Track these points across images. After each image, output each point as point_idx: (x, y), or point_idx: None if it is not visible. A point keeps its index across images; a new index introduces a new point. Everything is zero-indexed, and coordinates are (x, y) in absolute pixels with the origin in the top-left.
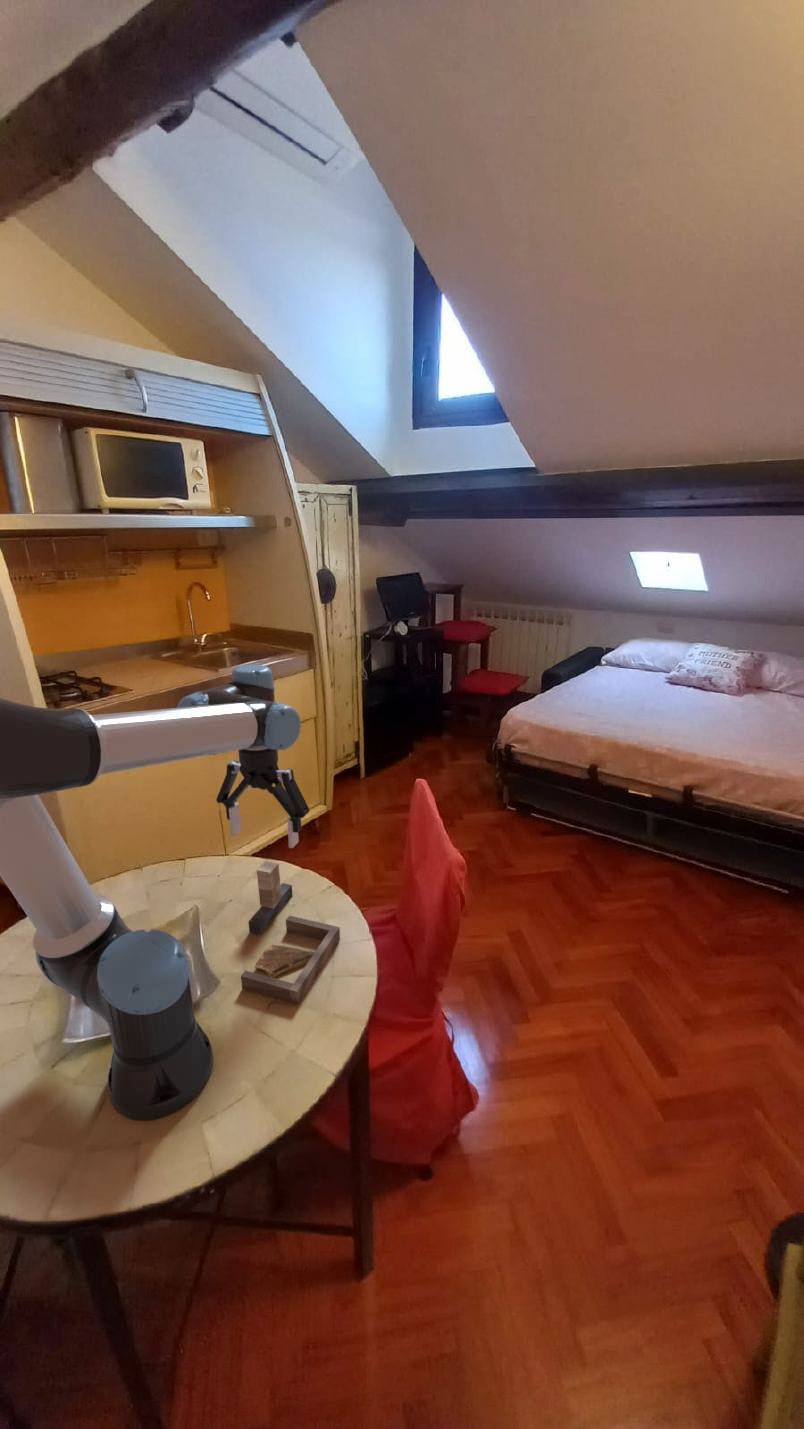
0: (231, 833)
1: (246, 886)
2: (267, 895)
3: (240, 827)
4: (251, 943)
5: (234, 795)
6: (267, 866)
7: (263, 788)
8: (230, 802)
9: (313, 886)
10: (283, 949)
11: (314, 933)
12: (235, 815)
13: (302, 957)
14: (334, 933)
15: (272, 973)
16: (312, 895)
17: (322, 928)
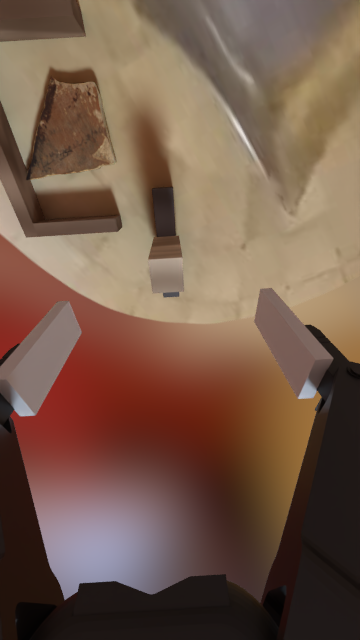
0: (273, 292)
1: (237, 282)
2: (162, 242)
3: (259, 325)
4: (153, 162)
5: (345, 441)
6: (167, 276)
7: (91, 602)
8: (342, 388)
9: (150, 314)
10: (83, 159)
11: (67, 219)
12: (287, 345)
13: (40, 153)
14: (19, 219)
15: (53, 81)
16: (139, 299)
17: (46, 223)
